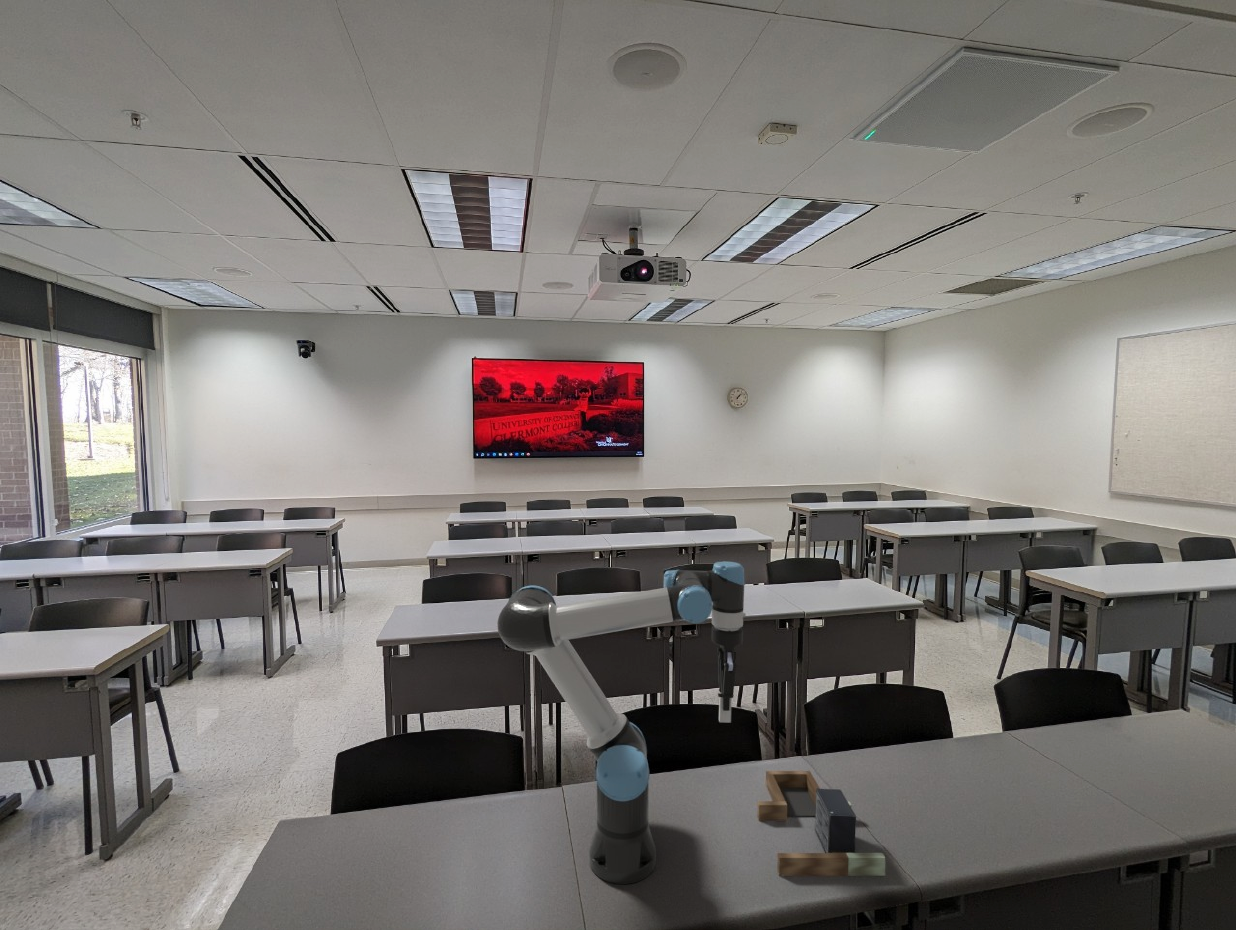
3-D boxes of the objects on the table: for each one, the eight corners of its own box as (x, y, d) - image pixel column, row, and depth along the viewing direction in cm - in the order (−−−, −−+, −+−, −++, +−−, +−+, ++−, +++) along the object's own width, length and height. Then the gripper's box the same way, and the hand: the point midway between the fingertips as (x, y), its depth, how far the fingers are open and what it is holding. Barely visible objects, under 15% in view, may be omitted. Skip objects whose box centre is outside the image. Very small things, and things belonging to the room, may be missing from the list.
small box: (857, 861, 134) (858, 816, 133) (827, 860, 134) (828, 815, 133) (840, 830, 144) (841, 788, 144) (813, 829, 144) (814, 787, 144)
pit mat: (785, 816, 149) (785, 815, 149) (772, 788, 161) (772, 787, 161) (821, 816, 149) (821, 815, 149) (805, 788, 161) (805, 787, 161)
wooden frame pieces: (779, 875, 129) (779, 857, 129) (745, 785, 162) (745, 771, 162) (885, 875, 129) (885, 857, 129) (829, 785, 163) (829, 771, 162)
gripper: (748, 635, 138) (745, 734, 139) (738, 618, 151) (735, 709, 152) (715, 634, 138) (713, 733, 139) (708, 617, 151) (706, 708, 152)
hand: (724, 720), depth 146 cm, fingers closed
